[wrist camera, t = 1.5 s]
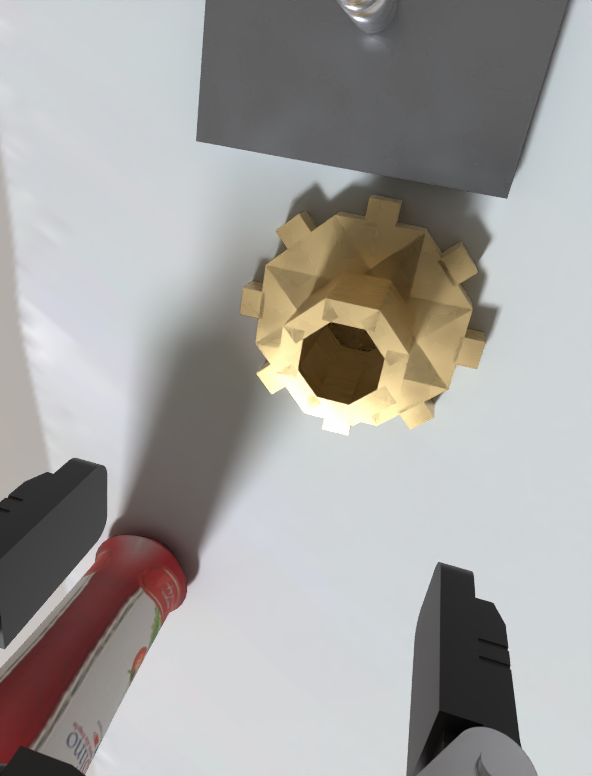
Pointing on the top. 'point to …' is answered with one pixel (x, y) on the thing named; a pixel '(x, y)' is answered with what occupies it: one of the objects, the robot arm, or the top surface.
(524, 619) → the top surface
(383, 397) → the gear
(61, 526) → the robot arm
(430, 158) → the carrier plate
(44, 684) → the liquor
